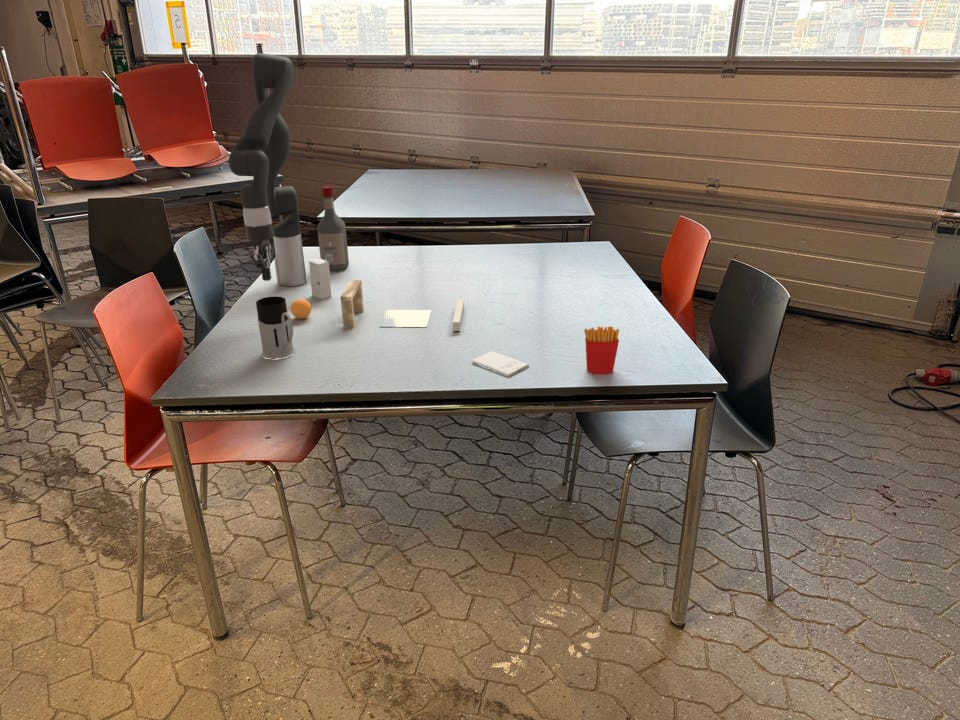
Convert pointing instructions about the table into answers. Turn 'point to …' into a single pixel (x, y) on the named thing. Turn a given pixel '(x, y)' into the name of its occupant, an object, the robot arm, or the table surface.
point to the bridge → (351, 302)
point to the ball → (301, 308)
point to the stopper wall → (458, 315)
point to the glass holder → (275, 327)
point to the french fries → (601, 349)
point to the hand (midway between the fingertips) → (267, 279)
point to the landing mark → (409, 317)
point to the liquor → (332, 235)
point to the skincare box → (320, 278)
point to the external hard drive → (500, 363)
